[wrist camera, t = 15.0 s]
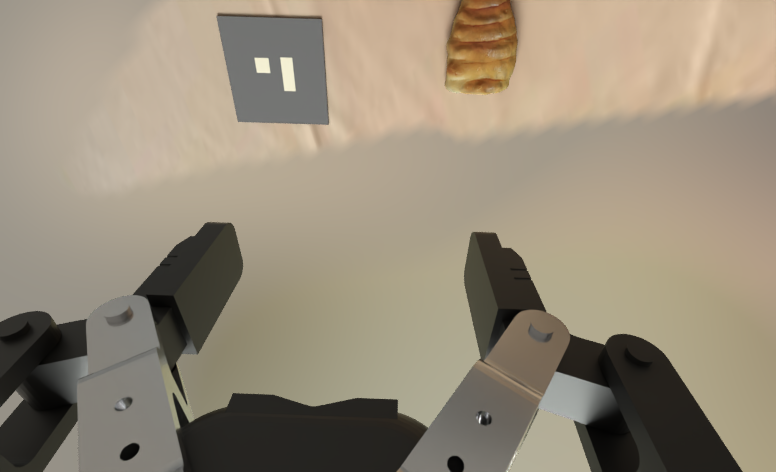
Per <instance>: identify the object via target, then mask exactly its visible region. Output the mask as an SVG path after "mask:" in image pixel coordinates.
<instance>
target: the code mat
mask: <svg viewBox="0 0 776 472" xmlns="http://www.w3.org/2000/svg"><path fill="white" fill-rule="evenodd" d="M217 21H218V26H219V31H220V36H221V41H222V46H223V51H224V56H225V60H226V65H227V70H228V75H229V80H230V85H231V90H232V95H233V100H234V105H235V109H236V114H237V119H238V122H262V123H293V124H323V125H329V121H328V106H327V91H326V76H325V60H324V45H323V30H322V19H303V18H269V17H236V16H217Z"/></svg>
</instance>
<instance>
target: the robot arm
mask: <svg viewBox="0 0 776 472" xmlns="http://www.w3.org/2000/svg"><path fill="white" fill-rule="evenodd" d="M242 270H243V260H242V256H241V252H240V248H239V244H238V240H237V236H236V232H235V228H234V226H233V225H232V224H231V223H217V222H207V223H205V224H204V226H203V227H202V228H201V229H200V230H199V232H198V233H197V234H196V235H195V236H190V237H189V238H187V239H185V240H184V241H182V242H181V243H179V244H177V245H176V246H175V247H174V248H173V250H172V251H171V252H170V253H169V254H168V256H167V258H165V259H164V260H163V261H162V262H161V263H160V266H158V267H157V268H156V269H155V270H154V271H153V272H152V273H151V275H150V276H149V277H148V278H147V279H146V280H145V281H144V282H143V284H142V285H141V286H140V287H139V288H138V289H137V290H136V292H135V293H134V294H133V295H128V296H122V297H119V298H115V299H113V300H110V301H108V302H107V303H104V304H103V305H101V306H99V307H98V308H97V309H96V310H94V311H93V312H92V313H91V314H90V316H89V317H88V319H85V320H79V321H74V322H69V323H64V324H59V325H56V323H55V322H54V320H53V319H52V317H51V316H50V315H49V314H48V313H45V312H40V311H34V312H27V313H23V314H19V315H16V316H13V317H10V318H8V319H6V320H4V321H2V322H0V407H1V406H2V405H3V403H5V401H6V400H7V399H8V398H9V397H10V396H11V395H12V394H13V392H14V391H15V390H16V391H17V392H18V393H19V395H20V396H21V397H22V398H23V399H24V400H23V401H22V402H21V403H20V404H19V406H18V407H17V408H16V409H15V410H14V411H13V413H12V414H11V415H10V416H9V417H8V418H7V420H6V421H5V422H4V423H3V424H2V425H1V427H0V472H43V470H44V469H45V468H46V466H47V465H48V463H49V462H50V460H51V459H52V457H53V456H54V454H55V453H56V451H57V450H58V449H59V447H60V445H61V444H62V443H63V441H64V440H65V438H66V437H67V435H68V434H69V433H70V431H71V429H72V428H73V427H74V425H75V424H76V422H77V421H78V453H79V454H78V455H79V472H509V471H510V469H511V467H512V465H513V462H514V460H515V458H516V456H517V454H518V452H519V450H520V448H521V446H522V444H523V442H524V440H525V437H526V435H527V433H528V431H529V429H530V427H531V425H532V423H533V421H534V419H535V417H536V415H537V412H538V411H539V409H542V410H545V411H548V412H551V413H554V414H557V415H559V416H562V417H565V418H568V419H571V420H574V423H575V425H576V428H577V431H578V434H579V437H580V440H581V443H582V446H583V449H584V452H585V455H586V458H587V460H588V463H589V466H590V469H591V472H742V470H741V469H740V467H739V466H738V464H737V463H736V461H735V460H734V458H733V457H732V455H731V453H730V452H729V450H728V449H727V447H726V446H725V444H724V443H723V442H722V440H721V439H720V437H719V435H718V434H717V432H716V431H715V429H714V428H713V426H712V425H711V423H710V422H709V420H708V419H707V417H706V416H705V414H704V413H703V411H702V409H701V408H700V406H699V405H698V403H697V402H696V400H695V399H694V397H693V396H692V394H691V393H690V391H689V390H688V388H687V387H686V385H685V384H684V382H683V381H682V379H681V378H680V376H679V375H678V373H677V372H676V370H675V369H674V367H673V366H672V364H671V363H670V361H669V359H668V358H667V357H666V356H665V354H664V353H663V352H662V351H661V350H659V349H658V348H657V347H656V346H654V345H653V344H651V343H650V342H648V341H646V340H644V339H642V338H639V337H636V336H633V335H627V334H618V335H614V336H611V337H610V338H609V339H608V340H607V342H606V344H605V345H603V344H600V343H596V342H593V341H589V340H585V339H582V338H579V337H576V336H573V335H571V334H570V333H569V331H568V329H567V327H566V326H565V325H564V324H563V322H561V321H560V320H559V319H558V318H556V317H555V316H553V315H551V314H549V313H547V312H546V310H545V307H544V305H543V303H542V301H541V299H540V297H539V294H538V292H537V290H536V288H535V286H534V283H533V281H532V280H531V277H530V275H529V273H528V271H527V268H526V266H525V264H524V262H523V260H522V258H521V257H520V256H519V255H518V254H517V253H516V252H515V251H513V250H512V249H511V248H502V247H501V244H500V242H499V239H498V237H497V234H496V233H486V232H473V233H472V234H471V237H470V243H469V249H468V254H467V260H466V265H465V271H464V281H465V282H464V283H465V289H466V293H467V298H468V302H469V307H470V312H471V316H472V321H473V325H474V330H475V334H476V338H477V343H478V347H479V352H480V356H481V359H479V360H478V361H477V362H476V363H475V365H474V366H473V367H472V368H471V370H470V371H469V372H468V374H467V375H466V377H465V378H464V380H463V381H462V382H461V384H460V385H459V386H458V388H457V389H456V390H455V392H454V393H453V395H452V396H451V398H450V399H449V400H448V402H447V403H446V405H445V406H444V407H443V409H442V410H441V411H440V413H439V414H438V415H437V417H436V418H435V420H434V421H433V422H432V424H431V425H430V427H429V428H427V427H426V426H425V425H423V424H422V423H420V422H418V421H417V420H415V419H413V418H411V417H409V416H406V415H403V414H400V413H398V412H397V411H398V409H397V408H398V400H393V399H367V398H355V399H350V400H346V401H340V402H336V403H331V404H326V405H321V406H316V407H312V406H308V405H304V404H301V403H298V402H294V401H291V400H288V399H285V398H282V397H279V396H275V395H263V394H236V393H233V394H232V397H231V399H230V402H229V404H228V406H227V407H225V408H221V409H218V410H215V411H212V412H210V413H207V414H205V415H203V416H201V417H199V418H197V419H194V416H193V413H192V410H191V407H190V403H189V400H188V396H187V393H186V389H185V385H184V382H183V379H182V375H181V372H180V368H179V366H178V364H177V360H178V359H179V357H180V356H181V354H198V353H199V351H200V349H201V348H202V346H203V344H204V342H205V340H206V339H207V337H208V335H209V333H210V331H211V330H212V328H213V326H214V324H215V322H216V321H217V319H218V317H219V315H220V313H221V312H222V310H223V308H224V306H225V305H226V302H227V301H228V299H229V297H230V295H231V293H232V292H233V290H234V288H235V286H236V285H237V283H238V281H239V279H240V277H241V275H242Z"/></svg>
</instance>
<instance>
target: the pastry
mask: <svg viewBox="0 0 776 472" xmlns="http://www.w3.org/2000/svg"><path fill="white" fill-rule="evenodd" d="M516 34H517V31H516V26H515V20H514V16H513V13H512V10H511V6H510V0H462V1H461V5H460V7H459V11H458V13H457V15H456V17H455V19H454V22H453V26H452V32H451V35H450V38H449V40H448V42H447V46H446V48H447V52H448V57H447V72H446V74H447V75H446V81H445V87H446V89H447V90H448V91H450V92H453V93H465V94H479V95H487V94H490V93H493V94H494V93H498V92H501V91H503V90H505V89H506V88H507V87H508V85H509V80H510V77H511V75H512V73H513V70H514V67H515V63H516V48H517V41H518V40H517V36H516Z"/></svg>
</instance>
